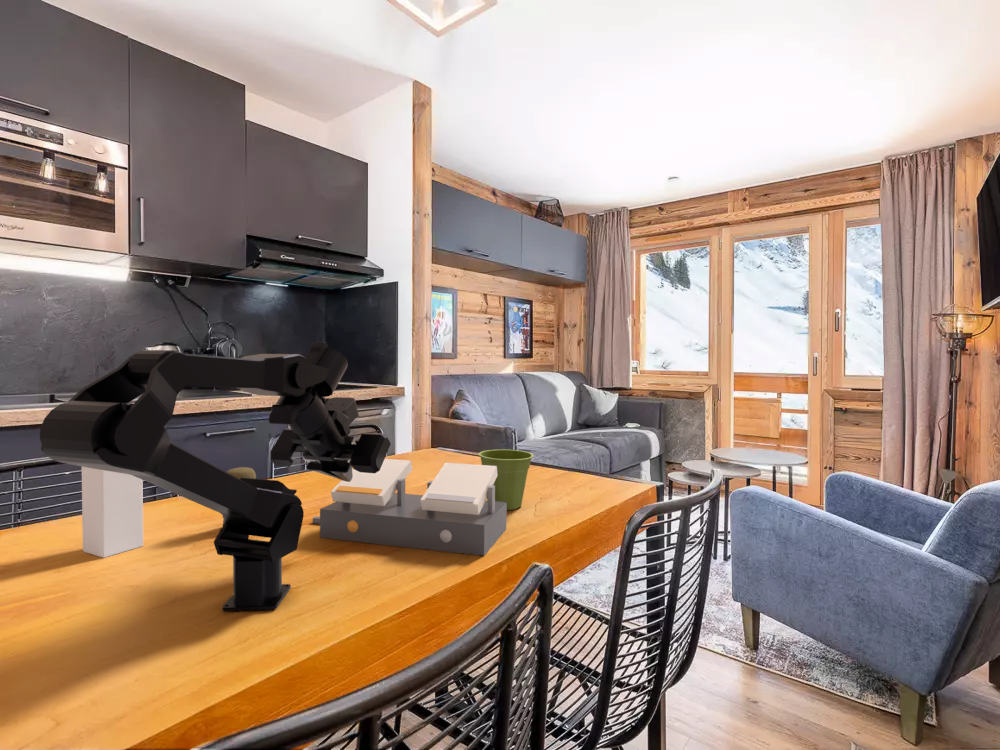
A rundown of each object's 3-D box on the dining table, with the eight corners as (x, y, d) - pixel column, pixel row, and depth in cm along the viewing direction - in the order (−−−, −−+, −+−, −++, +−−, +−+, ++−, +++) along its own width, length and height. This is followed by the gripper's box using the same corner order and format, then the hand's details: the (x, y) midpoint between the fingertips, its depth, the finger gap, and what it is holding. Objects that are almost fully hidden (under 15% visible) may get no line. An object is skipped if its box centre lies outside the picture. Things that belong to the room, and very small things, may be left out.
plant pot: (501, 517, 105) (502, 461, 105) (466, 504, 114) (467, 452, 114) (544, 507, 112) (545, 455, 112) (508, 496, 122) (509, 447, 121)
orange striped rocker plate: (384, 506, 91) (382, 495, 90) (333, 501, 93) (330, 490, 93) (412, 469, 102) (410, 459, 101) (365, 466, 104) (363, 456, 103)
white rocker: (478, 514, 86) (477, 503, 86) (422, 509, 89) (420, 498, 88) (497, 475, 97) (496, 465, 96) (446, 471, 100) (445, 461, 99)
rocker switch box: (483, 556, 84) (484, 497, 84) (289, 534, 94) (289, 481, 94) (506, 529, 98) (506, 478, 98) (335, 512, 107) (335, 465, 107)
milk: (82, 552, 85) (79, 414, 84) (123, 540, 90) (120, 411, 89) (104, 558, 82) (100, 416, 81) (144, 546, 87) (142, 413, 87)
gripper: (385, 382, 81) (415, 443, 92) (282, 379, 86) (321, 438, 97) (358, 440, 74) (393, 499, 85) (246, 433, 79) (293, 490, 90)
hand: (349, 479), depth 89 cm, fingers closed
